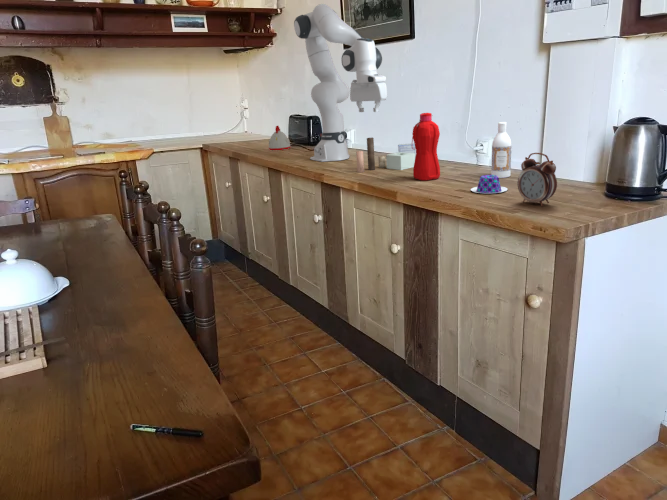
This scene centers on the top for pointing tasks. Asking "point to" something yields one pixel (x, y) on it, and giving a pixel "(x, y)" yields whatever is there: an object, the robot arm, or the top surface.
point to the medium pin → (360, 161)
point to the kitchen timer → (279, 140)
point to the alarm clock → (537, 180)
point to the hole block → (400, 160)
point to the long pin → (370, 153)
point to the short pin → (381, 161)
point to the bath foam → (501, 153)
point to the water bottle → (426, 148)
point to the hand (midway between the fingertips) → (368, 112)
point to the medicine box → (407, 148)
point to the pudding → (489, 185)
